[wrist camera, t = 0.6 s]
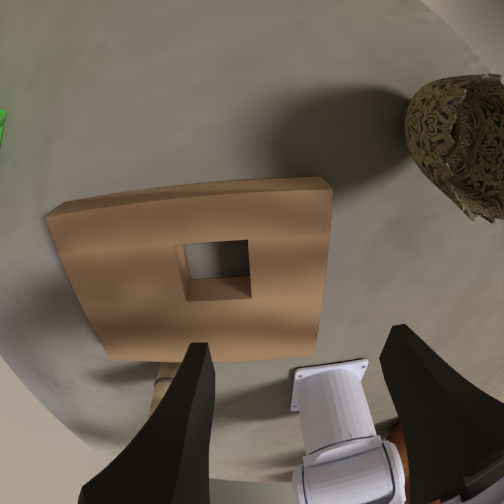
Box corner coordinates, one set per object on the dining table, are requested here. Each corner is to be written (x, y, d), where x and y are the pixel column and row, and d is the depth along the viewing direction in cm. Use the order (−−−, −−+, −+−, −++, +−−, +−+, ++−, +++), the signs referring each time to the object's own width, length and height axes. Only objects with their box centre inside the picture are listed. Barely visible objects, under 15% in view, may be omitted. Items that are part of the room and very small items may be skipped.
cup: (361, 161, 16) (432, 212, 10) (380, 55, 13) (465, 44, 6) (443, 184, 17) (515, 234, 10) (463, 94, 13) (546, 115, 7)
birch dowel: (194, 375, 27) (186, 462, 19) (164, 374, 27) (150, 458, 19) (187, 356, 25) (175, 451, 17) (155, 355, 25) (136, 446, 17)
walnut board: (309, 333, 24) (314, 355, 22) (117, 339, 24) (110, 358, 22) (321, 176, 17) (333, 189, 15) (63, 202, 17) (45, 217, 15)
